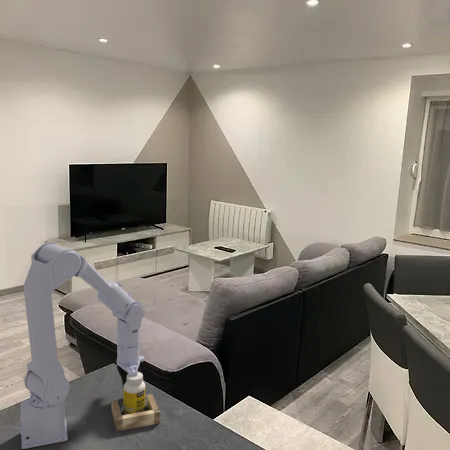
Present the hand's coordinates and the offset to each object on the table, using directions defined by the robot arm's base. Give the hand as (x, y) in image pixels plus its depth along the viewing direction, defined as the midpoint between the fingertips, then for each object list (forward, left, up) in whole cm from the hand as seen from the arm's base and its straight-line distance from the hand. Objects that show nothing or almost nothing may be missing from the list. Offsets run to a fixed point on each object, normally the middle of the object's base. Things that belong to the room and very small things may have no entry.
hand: (128, 391), depth 120 cm
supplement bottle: (0, -7, -2) cm, 7 cm away
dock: (0, -9, -2) cm, 9 cm away
